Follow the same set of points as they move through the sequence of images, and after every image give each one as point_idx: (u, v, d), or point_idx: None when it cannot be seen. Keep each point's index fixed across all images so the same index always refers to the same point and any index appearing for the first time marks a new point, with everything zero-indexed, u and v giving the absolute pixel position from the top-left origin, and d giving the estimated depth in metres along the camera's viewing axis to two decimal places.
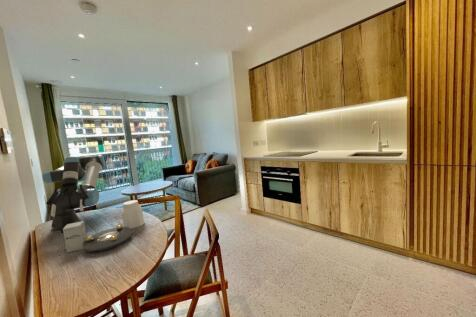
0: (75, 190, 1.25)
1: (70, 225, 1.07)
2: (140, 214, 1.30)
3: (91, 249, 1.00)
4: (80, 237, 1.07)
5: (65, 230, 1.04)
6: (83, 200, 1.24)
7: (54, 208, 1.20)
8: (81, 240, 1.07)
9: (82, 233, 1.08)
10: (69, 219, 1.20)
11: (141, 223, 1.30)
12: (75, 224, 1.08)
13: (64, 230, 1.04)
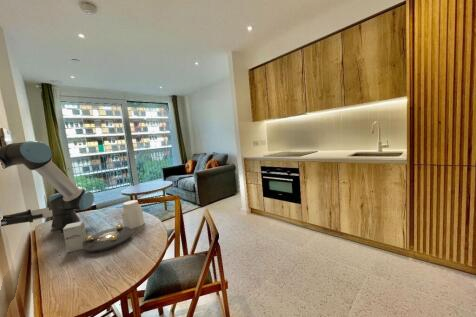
0: None
1: (70, 225, 1.07)
2: (140, 214, 1.30)
3: (91, 249, 1.00)
4: (80, 237, 1.07)
5: (65, 230, 1.04)
6: (35, 218, 0.93)
7: (37, 212, 1.04)
8: (81, 240, 1.07)
9: (82, 233, 1.08)
10: (69, 219, 1.20)
11: (141, 223, 1.30)
12: (75, 224, 1.08)
13: (64, 230, 1.04)
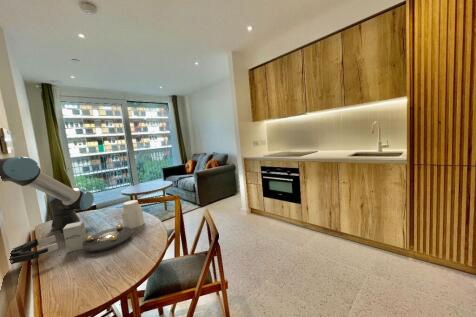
0: None
1: (70, 225, 1.07)
2: (140, 214, 1.30)
3: (91, 249, 1.00)
4: (80, 237, 1.07)
5: (65, 230, 1.04)
6: None
7: (44, 241, 1.05)
8: (81, 240, 1.07)
9: (82, 233, 1.08)
10: (69, 219, 1.20)
11: (141, 223, 1.30)
12: (75, 224, 1.08)
13: (64, 230, 1.04)
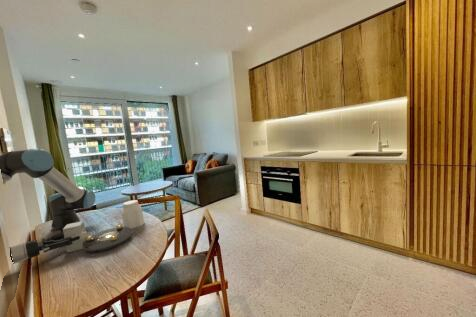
0: None
1: (70, 225, 1.07)
2: (140, 214, 1.30)
3: (91, 249, 1.00)
4: None
5: (65, 230, 1.04)
6: None
7: None
8: (81, 240, 1.07)
9: None
10: (69, 219, 1.20)
11: (141, 223, 1.30)
12: (75, 224, 1.08)
13: (64, 230, 1.04)
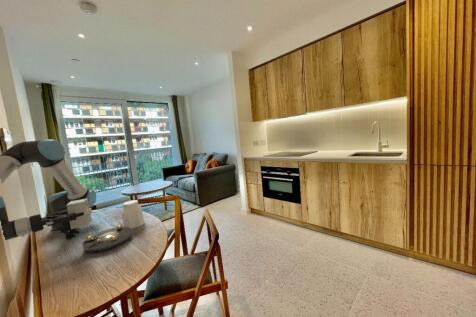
0: None
1: (74, 201, 1.05)
2: (140, 214, 1.30)
3: (91, 249, 1.00)
4: None
5: (69, 206, 1.02)
6: None
7: None
8: (84, 216, 1.05)
9: None
10: None
11: (141, 223, 1.30)
12: (79, 201, 1.06)
13: (68, 206, 1.02)
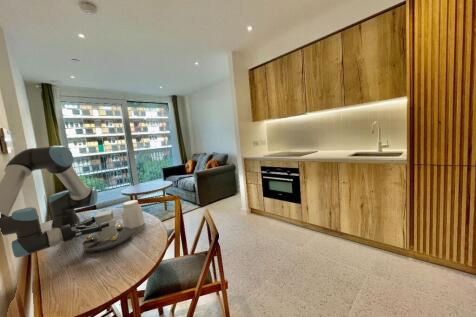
0: None
1: (101, 213, 1.09)
2: (140, 214, 1.30)
3: (91, 249, 1.00)
4: None
5: (97, 218, 1.05)
6: None
7: None
8: (111, 228, 1.08)
9: None
10: (69, 219, 1.20)
11: (141, 223, 1.30)
12: (105, 213, 1.09)
13: (96, 218, 1.05)
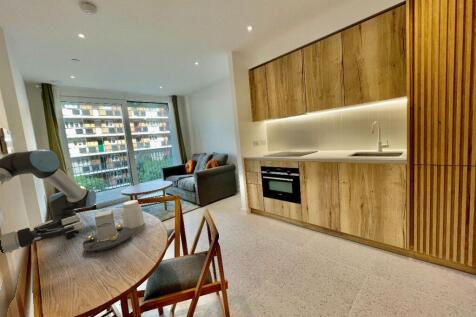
0: None
1: (101, 213, 1.09)
2: (140, 214, 1.30)
3: (91, 249, 1.00)
4: (111, 225, 1.08)
5: (97, 218, 1.05)
6: None
7: (67, 220, 1.04)
8: (111, 228, 1.08)
9: (112, 221, 1.10)
10: None
11: (141, 223, 1.30)
12: (105, 213, 1.09)
13: (96, 218, 1.05)
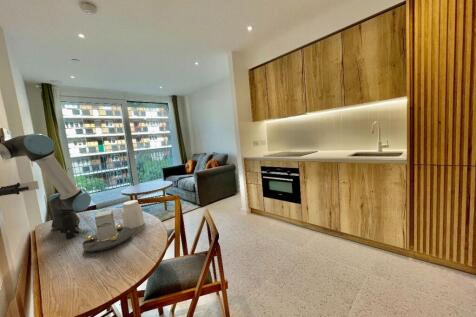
0: None
1: (101, 213, 1.09)
2: (140, 214, 1.30)
3: (91, 249, 1.00)
4: (111, 225, 1.08)
5: (97, 218, 1.05)
6: (21, 190, 0.97)
7: (26, 185, 1.08)
8: (111, 228, 1.08)
9: (112, 221, 1.10)
10: (69, 219, 1.20)
11: (141, 223, 1.30)
12: (105, 213, 1.09)
13: (96, 218, 1.05)
